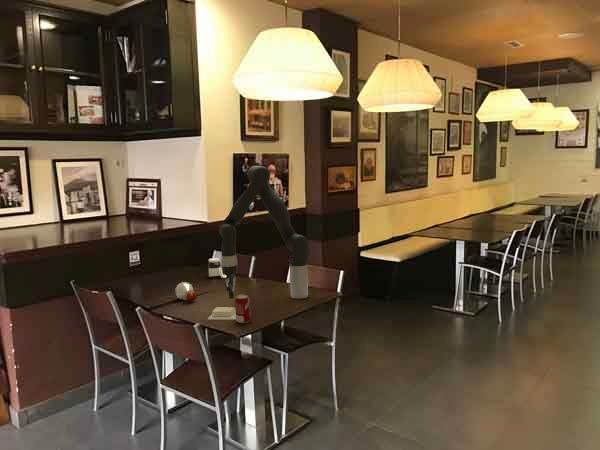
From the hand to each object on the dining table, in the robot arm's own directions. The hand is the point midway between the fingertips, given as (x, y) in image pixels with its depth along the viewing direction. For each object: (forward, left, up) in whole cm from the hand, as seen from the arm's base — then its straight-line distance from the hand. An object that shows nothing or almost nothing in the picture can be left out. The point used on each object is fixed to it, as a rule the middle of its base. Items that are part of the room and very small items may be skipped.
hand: (231, 298), depth 243 cm
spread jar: (-65, -27, -6) cm, 71 cm away
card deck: (+7, -1, -4) cm, 8 cm away
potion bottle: (-15, -29, -6) cm, 33 cm away
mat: (+9, 0, -5) cm, 10 cm away
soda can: (+19, +10, -6) cm, 22 cm away
